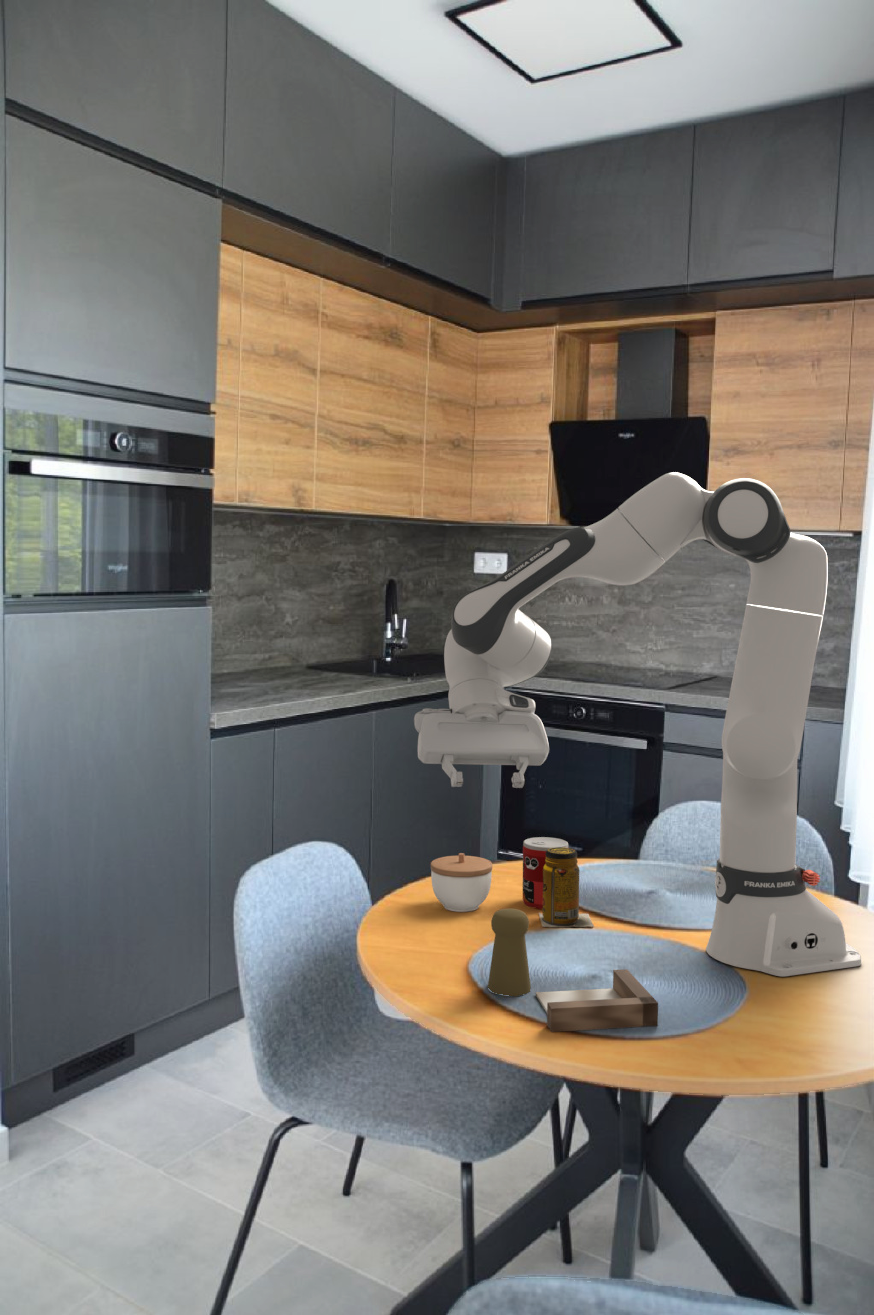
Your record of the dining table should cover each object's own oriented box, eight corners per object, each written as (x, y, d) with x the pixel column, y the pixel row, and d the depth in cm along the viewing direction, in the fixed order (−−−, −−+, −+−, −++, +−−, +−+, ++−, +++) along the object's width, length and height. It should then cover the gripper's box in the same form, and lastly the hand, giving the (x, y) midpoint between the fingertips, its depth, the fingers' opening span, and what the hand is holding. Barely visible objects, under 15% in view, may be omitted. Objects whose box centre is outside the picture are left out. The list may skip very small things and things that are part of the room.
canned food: (523, 896, 193) (524, 836, 192) (568, 898, 192) (569, 837, 191) (520, 909, 185) (521, 846, 185) (567, 911, 184) (568, 848, 184)
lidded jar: (504, 908, 186) (505, 855, 185) (457, 920, 179) (457, 865, 178) (464, 894, 194) (464, 843, 193) (417, 905, 187) (418, 852, 186)
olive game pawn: (532, 997, 146) (533, 918, 145) (488, 996, 146) (489, 917, 145) (529, 980, 152) (530, 904, 151) (486, 980, 152) (487, 904, 151)
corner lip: (626, 990, 148) (627, 969, 148) (657, 1025, 137) (658, 1003, 136) (528, 995, 146) (528, 974, 146) (551, 1032, 134) (551, 1008, 134)
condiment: (538, 914, 183) (539, 845, 182) (588, 914, 183) (589, 845, 182) (542, 928, 175) (543, 856, 174) (594, 928, 175) (595, 856, 174)
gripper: (416, 696, 164) (423, 772, 156) (544, 700, 168) (558, 774, 160) (410, 720, 169) (416, 795, 161) (534, 723, 173) (547, 797, 164)
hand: (488, 785), depth 160 cm, fingers open, 8 cm apart
